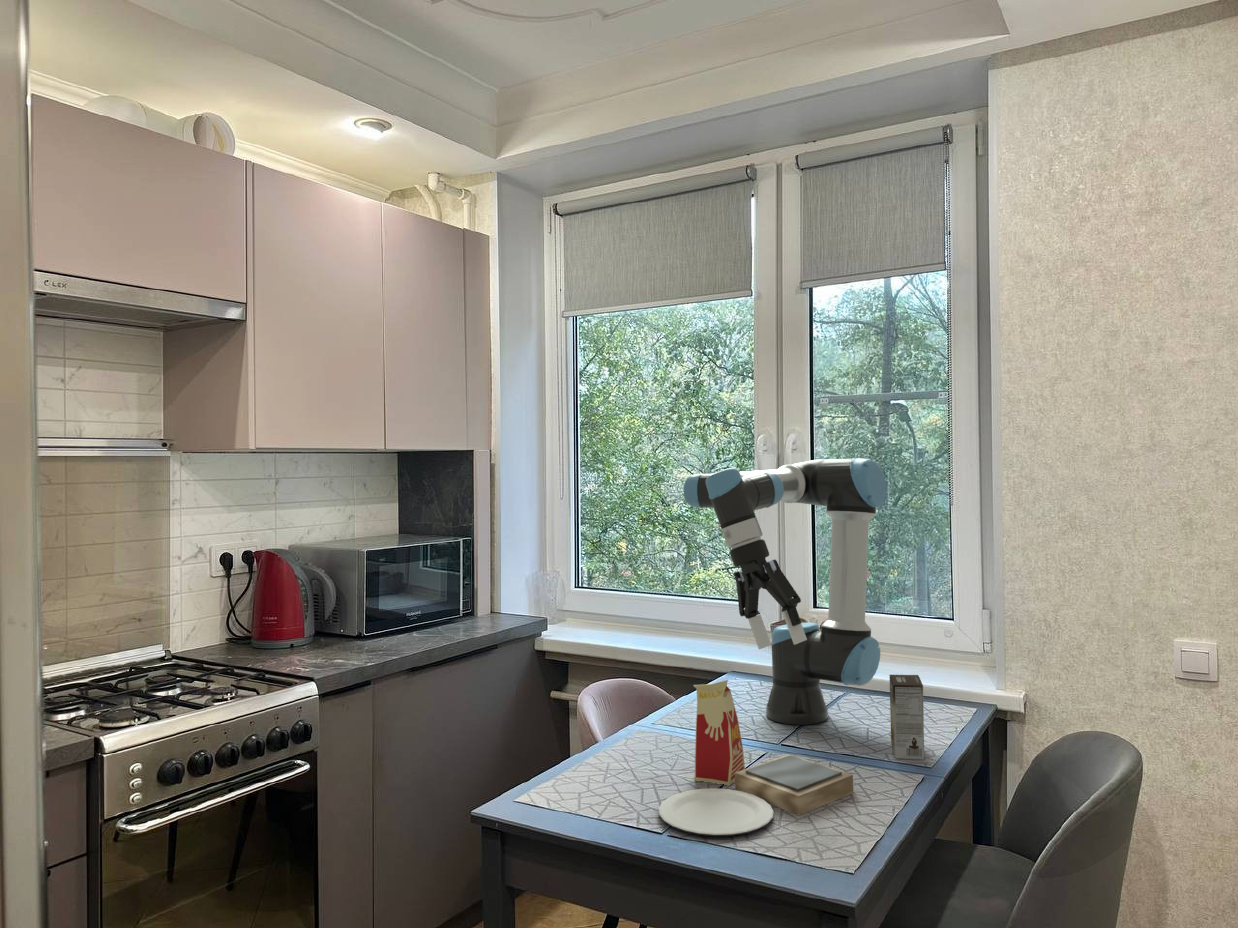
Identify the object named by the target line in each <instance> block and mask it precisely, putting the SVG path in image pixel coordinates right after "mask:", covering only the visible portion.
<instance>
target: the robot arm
mask: <svg viewBox="0 0 1238 928" xmlns="http://www.w3.org/2000/svg"><path fill="white" fill-rule="evenodd" d="M887 490H888V489H887V481H886V476H885V474H884V472H883V470H882V468H881V466H880V464H878V463H877V462H876V461H874V460H873V459H869V458H859V457H858V458H857V457H854V458H835V459H834V458H833V459H831V458H830V459H829V458H827V459H813V460H808V461H802V462H797V463H793V464H784V465H782V466H780V467H778V468H777V469H763V470H762V469H761V470H751V471H749V470H748V471H740V470H739V469H738V468H737V467H730V468H726V469H723V470H720V471H717V472H714V473H699V474H698V473H697V474H690V475H689V476H688V477H687V478H686V479H685V482H684V484H683V498H684V500H685V502H686V504H687V505H689V506H690V507H693V508H700V509H704V508H706V509H707V508H708V509H709V508H710V509H714V512H715V515H716V518H717V520H718V523H719V527H720V529H721V531H722V537H723V538H724V539H725V544H726V546H727V547H728V548H730V550H729V556H730V559H731V561H732V563H733V567H735V568H739V567H740V570H738V571H734V573H733V576H734V579H735V582H736V591H737V601H738V602H737V603H738V604H737V605H738V610H739V615H740V617H745V619H747V620H748V623H749V626H750V628H751V631H752V634H753V637H754V639H755V642H756V645H757V648H758V650H762V649H764V648H767V647H770V646H771V666H772V685H771V690H770V693H769V697H768V701H767V703H766V709H765V710H766V711H765V713H766V717H767V718H768V719H769V720H771V721H773V722H777V723H781V724H785V725H797V726H798V725H799V726H800V725H802V726H807V725H814V724H815V725H816V724H820V723H823V722H825V721H827V720H828V717H829V711H828V706H827V704H826V702H825V699H824V694H823V692H822V691H823V690H822V688H821V681H827V682H834V683H838V684H843V685H845V686H856V687H860V686H861V687H862V686H864V685H866V684H868V683H870V682H871V680H872V679H873V678H874V676H876V673H877V670H878V669H879V665H880V661H881V647H880V643H879V641H878V640H877V639H876V638H874V637H873V636H872V628H871V627H870V625H868V624H867V622H866V606H867V605H866V601H867V600H866V598H867V580H868V579H867V575H868V551H869V527H870V521H871V520H872V519H873V518H874V517H875V516H876V511H877V508H879V507H881V506H883V504H884V503H885V500H886V497H887ZM780 501H781V502H783V503H785V504H805V505H814V506H822V507H823V506H826V514H827V515H828V516H829V517H830V518H831V521H832V522H831V523H832V524H831V525H832V526H831V543H830V544H831V545H830V547H831V549H830V566H829V567H830V568H829V589H828V592H829V593H828V596H829V597H828V615H827V616H828V617H827V619H826V620H825V621H824V622H823V623H821V629H820V627H819V624H818V623H817V622H812V621H811V622H802V620H801V618H800V616H799V612H798V610H797V607H798V604H800V603H801V602H802V599H801V597H800V596H799V594H798V593H797V591H796V589H794V587H793V585H792V584H791V582H790V581H789V580H788V578H787V577H786V575H785V574H784V573H783V570H781V567H780V565H779V562H778V560H777V559H771V560H770V561H767V560H766V558H767V557H769V556H770V552H769V549H768V546H767V544H766V540H765V539H762V537H763V532H762V529H761V526H760V523H759V522H758V518H757V516H756V513H755V511H758V510H761V509H765V508H768V509H769V508H770V507H773V506H774V505H777V504H778V503H779V502H780ZM761 589H762V590H766V591H767V592H768V593H769V595H770V596H771V597H772V598H773V599H774V601H776V602H777V604H779V605H780V607H781V612H782V616H783V618H784V619H783V620H784V621H785V624H782V625H778V626H776V627H774V629H773V630H772V632H771V640H770V637H769V635H768V631H767V630H766V626H765V623H764V620H763V618H762V615H761V612H760V611H759V598H760V597H759V596H760V595H759V594H760V590H761Z"/></svg>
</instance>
